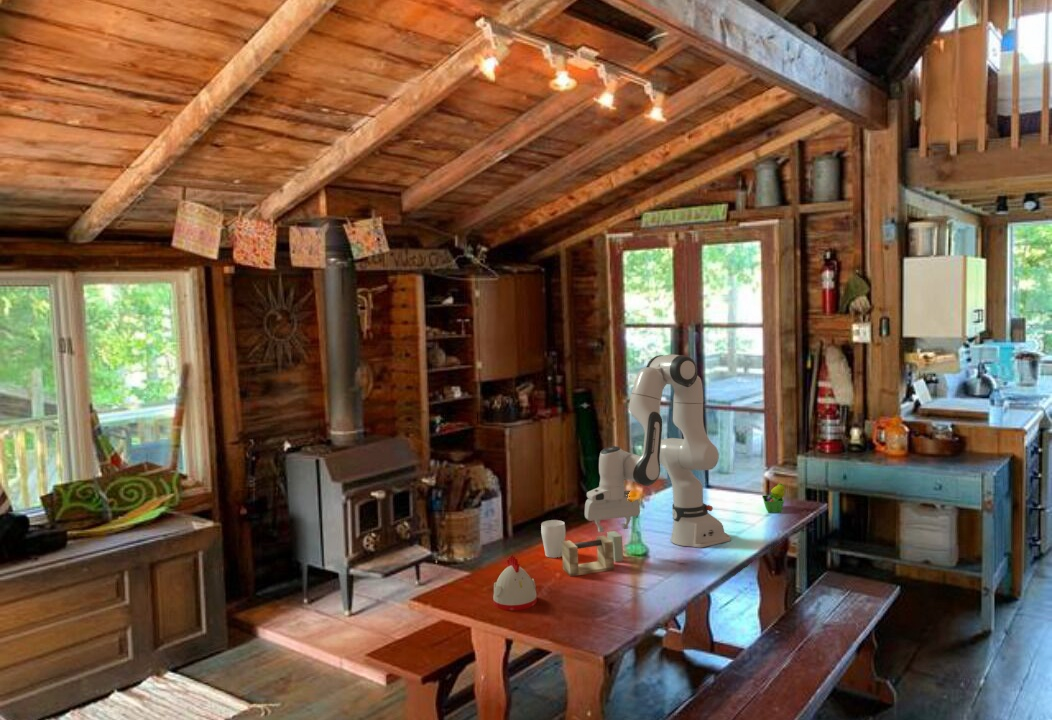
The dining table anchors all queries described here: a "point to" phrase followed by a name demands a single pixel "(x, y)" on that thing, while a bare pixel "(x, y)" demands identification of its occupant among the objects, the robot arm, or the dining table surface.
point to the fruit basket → (775, 499)
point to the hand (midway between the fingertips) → (612, 530)
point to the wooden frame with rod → (601, 565)
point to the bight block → (616, 545)
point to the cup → (553, 537)
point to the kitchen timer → (514, 588)
